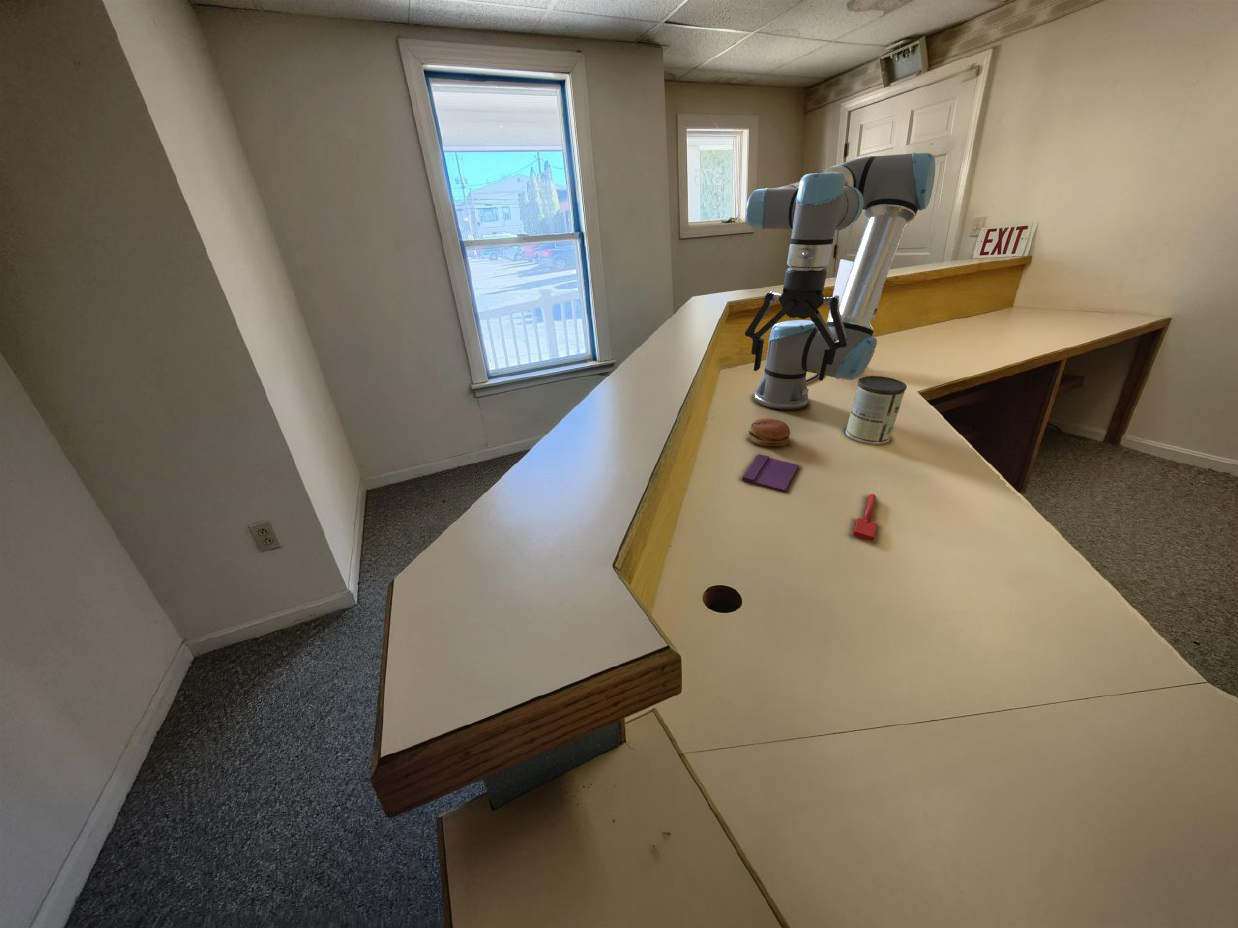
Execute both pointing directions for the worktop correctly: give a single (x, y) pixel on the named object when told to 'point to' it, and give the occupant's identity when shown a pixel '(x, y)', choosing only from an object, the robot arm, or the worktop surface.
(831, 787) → the worktop surface
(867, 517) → the red spatula
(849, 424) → the coffee can
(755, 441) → the burger
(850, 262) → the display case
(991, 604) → the worktop surface
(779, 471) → the cloth
